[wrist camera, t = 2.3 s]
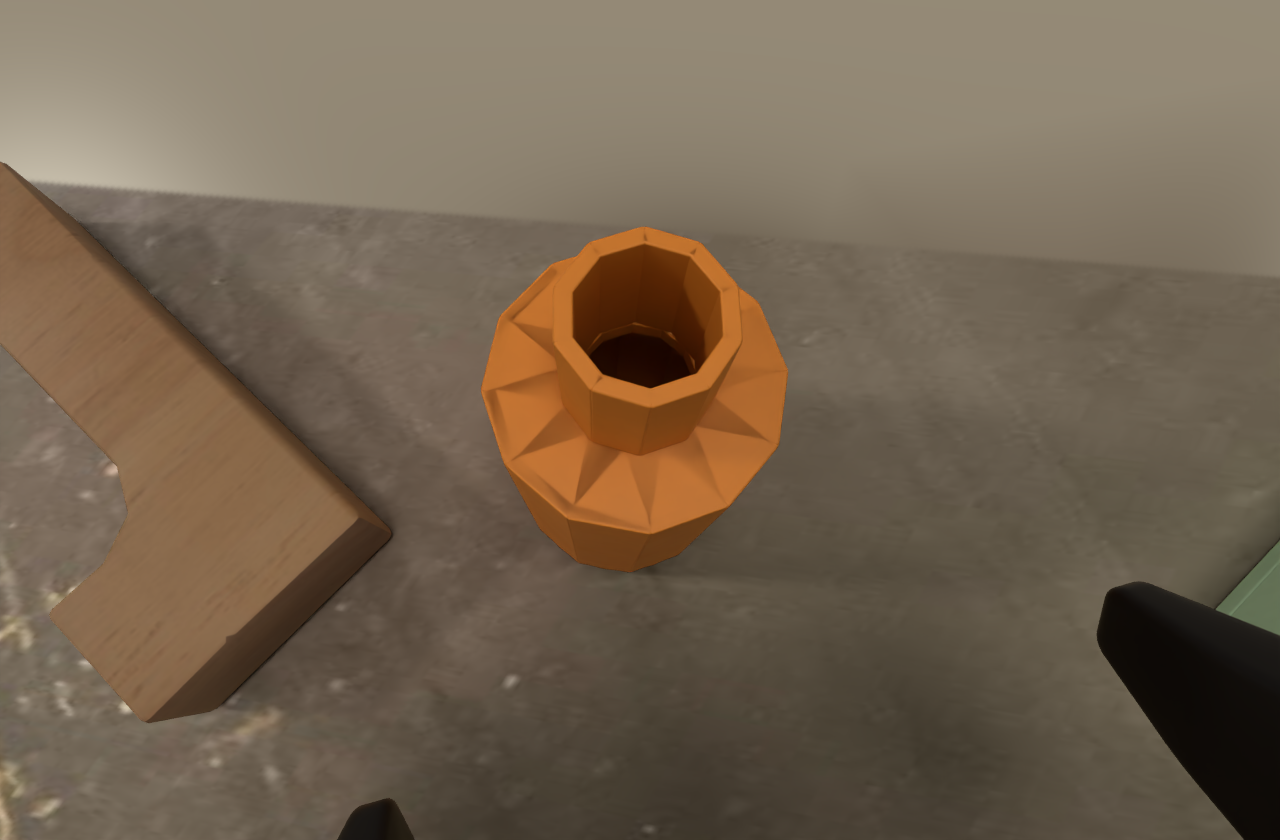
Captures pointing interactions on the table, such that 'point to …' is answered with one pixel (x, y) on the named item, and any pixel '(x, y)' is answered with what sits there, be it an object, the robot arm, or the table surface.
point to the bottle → (633, 397)
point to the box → (1258, 595)
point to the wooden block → (171, 476)
